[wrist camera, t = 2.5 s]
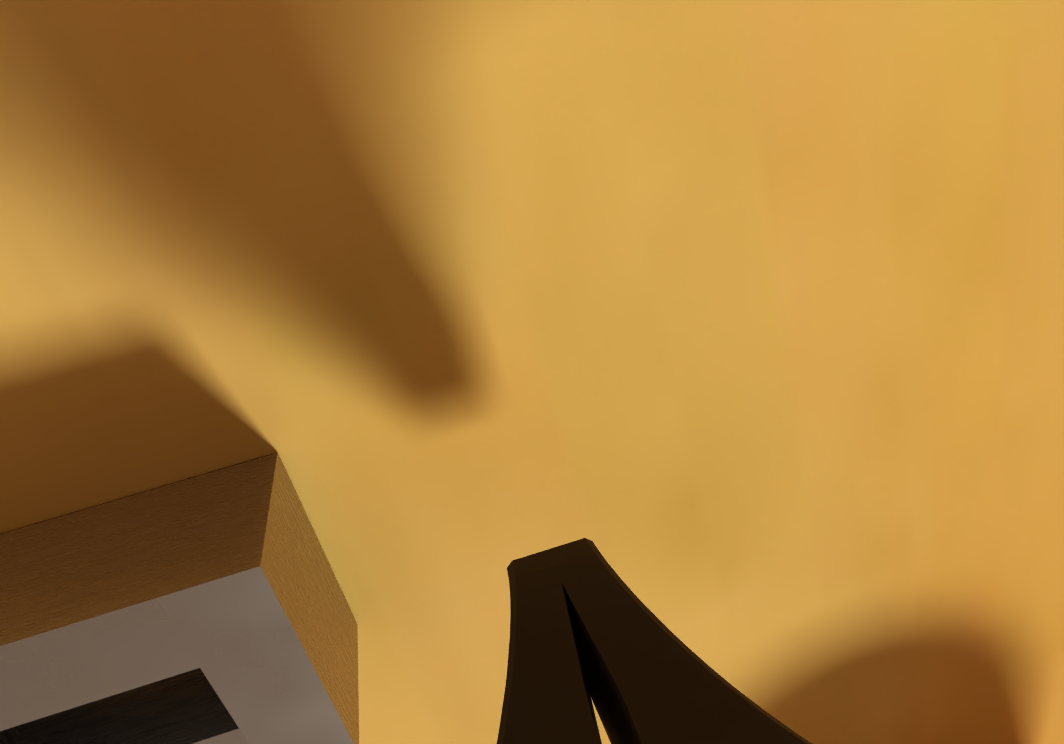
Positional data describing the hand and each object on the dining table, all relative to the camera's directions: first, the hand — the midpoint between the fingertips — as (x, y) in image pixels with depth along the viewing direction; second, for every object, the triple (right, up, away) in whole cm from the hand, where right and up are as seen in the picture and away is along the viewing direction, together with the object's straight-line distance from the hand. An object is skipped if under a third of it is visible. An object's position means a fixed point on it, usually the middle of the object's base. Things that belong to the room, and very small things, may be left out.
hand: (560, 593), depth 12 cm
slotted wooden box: (-8, -1, +2) cm, 8 cm away
